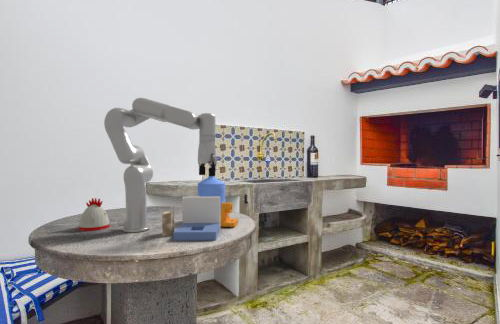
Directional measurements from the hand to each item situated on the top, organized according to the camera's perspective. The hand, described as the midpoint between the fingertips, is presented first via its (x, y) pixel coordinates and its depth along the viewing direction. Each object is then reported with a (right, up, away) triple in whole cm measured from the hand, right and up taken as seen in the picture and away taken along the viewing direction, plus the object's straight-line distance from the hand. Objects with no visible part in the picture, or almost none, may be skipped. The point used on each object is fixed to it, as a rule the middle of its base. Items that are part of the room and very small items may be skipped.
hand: (206, 175), depth 147 cm
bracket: (+10, -27, +12) cm, 31 cm away
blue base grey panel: (-3, -27, -6) cm, 28 cm away
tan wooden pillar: (-17, -27, -5) cm, 32 cm away
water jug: (-1, -26, +27) cm, 38 cm away
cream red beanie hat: (-58, -27, +9) cm, 65 cm away
